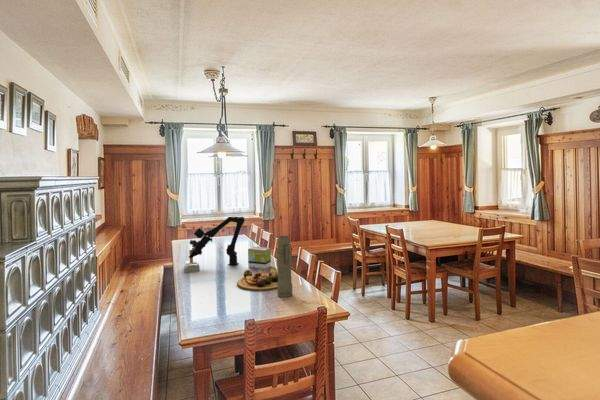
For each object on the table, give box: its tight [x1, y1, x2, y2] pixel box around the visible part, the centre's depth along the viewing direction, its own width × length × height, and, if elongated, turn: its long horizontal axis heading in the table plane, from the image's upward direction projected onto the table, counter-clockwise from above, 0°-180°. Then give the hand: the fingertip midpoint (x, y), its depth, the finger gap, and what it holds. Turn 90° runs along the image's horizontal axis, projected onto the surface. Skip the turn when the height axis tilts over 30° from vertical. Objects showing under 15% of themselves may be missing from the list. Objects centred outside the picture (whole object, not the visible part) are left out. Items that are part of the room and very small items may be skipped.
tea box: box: [247, 246, 272, 270], centre depth 290 cm, size 15×10×15 cm
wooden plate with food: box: [236, 268, 278, 292], centre depth 246 cm, size 32×32×8 cm
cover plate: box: [185, 249, 198, 266], centre depth 296 cm, size 10×8×11 cm
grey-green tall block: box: [276, 235, 294, 299], centre depth 220 cm, size 9×12×35 cm
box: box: [184, 262, 200, 273], centre depth 284 cm, size 12×10×4 cm
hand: (189, 257), depth 293 cm, fingers closed on cover plate, 2 cm apart
